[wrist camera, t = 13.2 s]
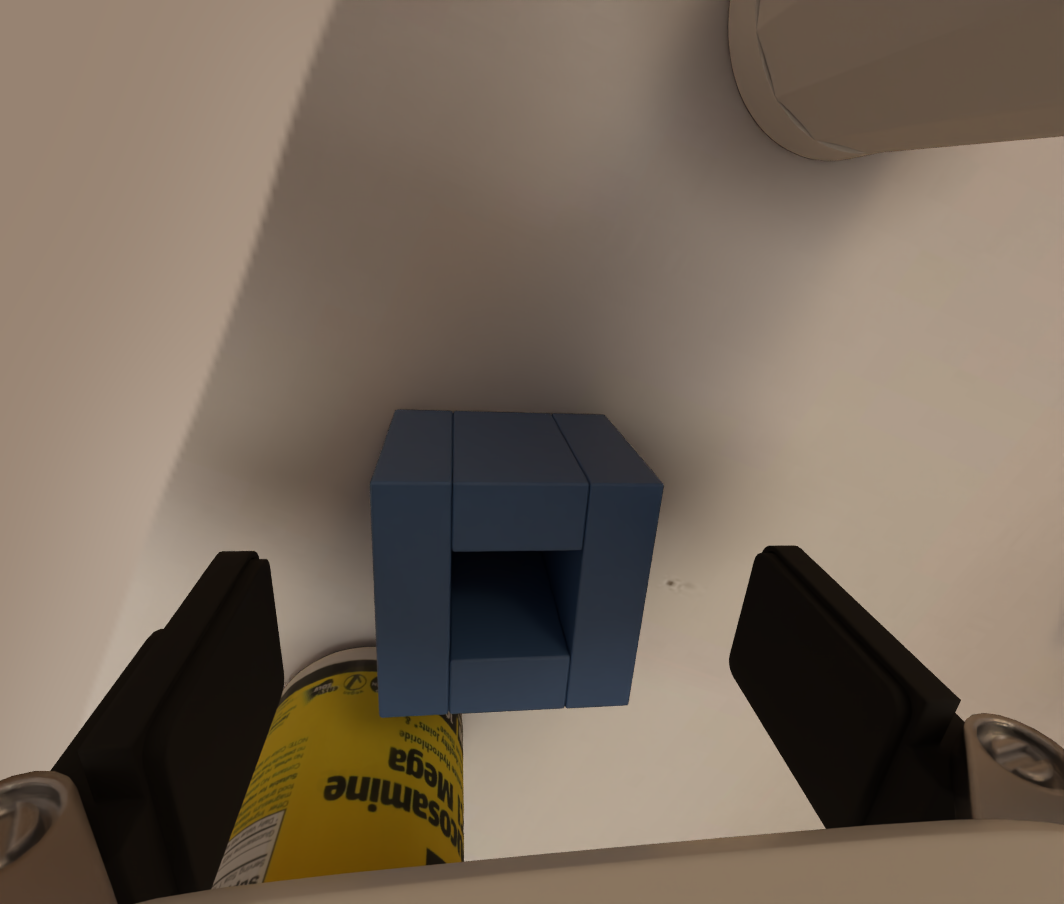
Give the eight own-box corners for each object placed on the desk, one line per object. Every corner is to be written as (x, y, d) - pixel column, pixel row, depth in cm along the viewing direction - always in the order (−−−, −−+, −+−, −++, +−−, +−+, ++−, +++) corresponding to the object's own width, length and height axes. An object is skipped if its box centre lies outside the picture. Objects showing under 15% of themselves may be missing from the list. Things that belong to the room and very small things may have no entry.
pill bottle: (499, 704, 20) (546, 1214, 9) (376, 802, 20) (298, 1363, 10) (365, 604, 17) (237, 1123, 7) (235, 718, 18) (-43, 1323, 8)
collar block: (394, 408, 15) (369, 482, 11) (605, 414, 16) (665, 484, 12) (398, 591, 17) (378, 719, 13) (584, 588, 18) (628, 706, 14)
